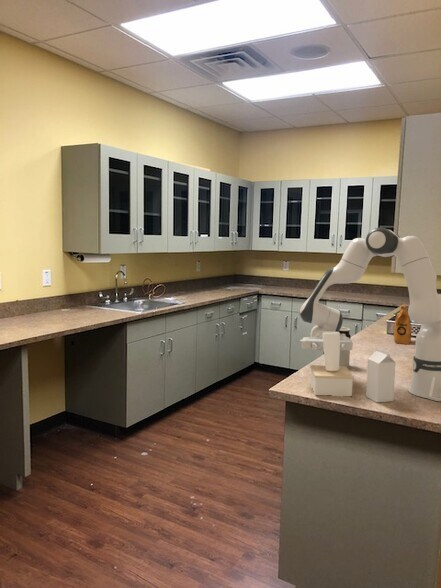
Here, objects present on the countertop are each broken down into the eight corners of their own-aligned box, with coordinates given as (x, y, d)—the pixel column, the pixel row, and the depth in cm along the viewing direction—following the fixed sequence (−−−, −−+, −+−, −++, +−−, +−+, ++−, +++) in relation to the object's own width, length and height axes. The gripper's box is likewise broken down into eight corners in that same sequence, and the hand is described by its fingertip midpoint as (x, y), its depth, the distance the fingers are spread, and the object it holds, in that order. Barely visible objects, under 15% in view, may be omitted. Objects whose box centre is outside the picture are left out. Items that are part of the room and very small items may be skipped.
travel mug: (349, 368, 217) (351, 330, 215) (332, 367, 219) (333, 329, 217) (348, 363, 225) (350, 327, 223) (331, 362, 227) (333, 326, 224)
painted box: (345, 385, 192) (346, 366, 191) (352, 397, 178) (353, 376, 177) (309, 383, 193) (310, 365, 192) (314, 395, 179) (315, 375, 178)
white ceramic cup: (338, 368, 188) (337, 331, 187) (343, 371, 181) (342, 333, 180) (321, 369, 187) (320, 332, 187) (326, 372, 181) (325, 334, 180)
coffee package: (391, 343, 271) (393, 306, 268) (393, 339, 282) (395, 303, 280) (409, 345, 267) (412, 307, 264) (411, 341, 278) (413, 304, 275)
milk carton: (376, 403, 172) (379, 352, 169) (365, 396, 178) (368, 348, 176) (393, 401, 174) (396, 351, 171) (382, 395, 180) (384, 347, 178)
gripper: (299, 332, 197) (303, 339, 183) (348, 333, 196) (355, 341, 182) (299, 347, 198) (302, 355, 184) (347, 348, 197) (355, 356, 183)
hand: (329, 348), depth 183 cm, fingers open, 8 cm apart
